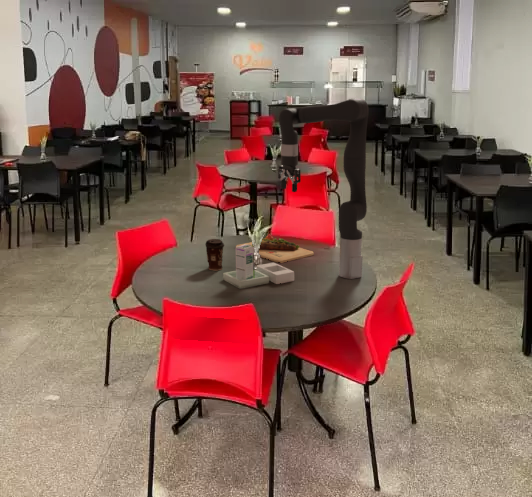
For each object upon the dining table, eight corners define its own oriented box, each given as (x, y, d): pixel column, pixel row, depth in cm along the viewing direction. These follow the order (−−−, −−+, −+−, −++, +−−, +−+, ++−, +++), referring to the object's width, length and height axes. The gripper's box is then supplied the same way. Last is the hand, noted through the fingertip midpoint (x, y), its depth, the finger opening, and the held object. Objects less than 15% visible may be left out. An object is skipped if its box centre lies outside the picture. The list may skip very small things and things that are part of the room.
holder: (294, 280, 276) (294, 271, 275) (276, 284, 271) (276, 275, 270) (273, 271, 289) (273, 262, 288) (256, 274, 284) (256, 265, 283)
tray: (268, 283, 273) (268, 276, 272) (240, 288, 265) (239, 281, 264) (251, 274, 284) (251, 267, 283) (223, 279, 277) (223, 273, 276)
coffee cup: (201, 269, 290) (201, 241, 287) (211, 264, 297) (211, 237, 294) (218, 272, 286) (217, 244, 283) (228, 267, 294) (227, 239, 290)
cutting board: (233, 249, 326) (233, 234, 324) (269, 241, 341) (269, 227, 339) (279, 264, 300) (279, 249, 298) (315, 255, 315) (316, 240, 313)
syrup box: (245, 282, 270) (245, 248, 267) (235, 279, 274) (235, 246, 270) (254, 279, 275) (254, 246, 271) (244, 276, 278) (244, 243, 274)
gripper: (273, 153, 291) (273, 188, 296) (291, 156, 280) (291, 193, 284) (287, 152, 295) (286, 187, 300) (305, 155, 284) (305, 192, 288)
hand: (289, 190), depth 292 cm, fingers open, 8 cm apart
